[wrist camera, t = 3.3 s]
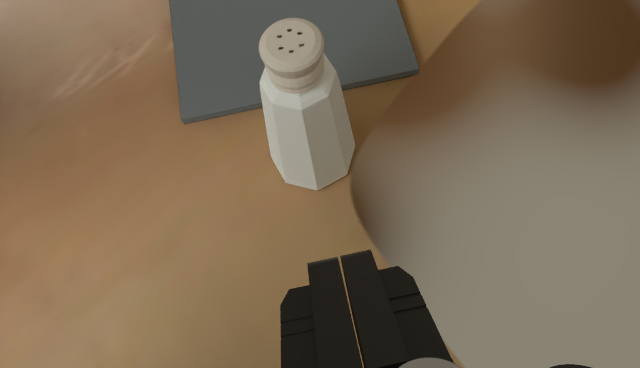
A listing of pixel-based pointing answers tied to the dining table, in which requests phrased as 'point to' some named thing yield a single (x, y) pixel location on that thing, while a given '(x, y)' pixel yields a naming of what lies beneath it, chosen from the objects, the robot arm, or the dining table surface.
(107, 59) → the dining table surface
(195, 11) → the mat
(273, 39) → the pepper shaker
